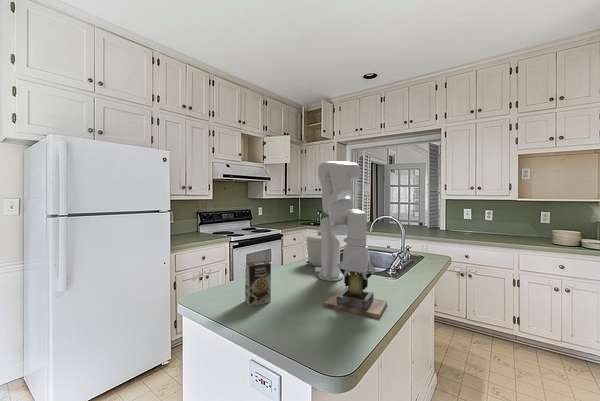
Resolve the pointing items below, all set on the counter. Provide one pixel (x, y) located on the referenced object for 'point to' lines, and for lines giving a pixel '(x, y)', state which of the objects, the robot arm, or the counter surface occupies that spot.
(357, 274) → the fennel bulb
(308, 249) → the canister
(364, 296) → the collar stand
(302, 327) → the counter surface
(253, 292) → the coffee box
